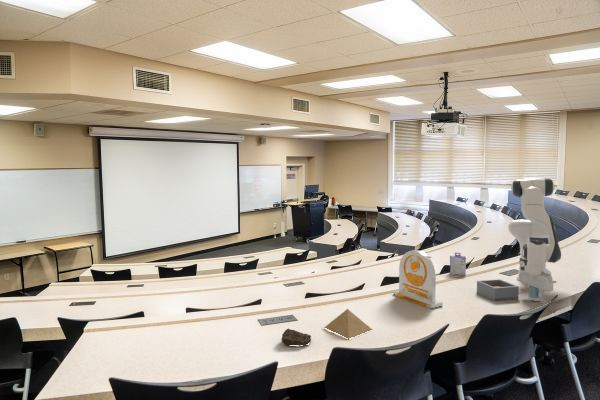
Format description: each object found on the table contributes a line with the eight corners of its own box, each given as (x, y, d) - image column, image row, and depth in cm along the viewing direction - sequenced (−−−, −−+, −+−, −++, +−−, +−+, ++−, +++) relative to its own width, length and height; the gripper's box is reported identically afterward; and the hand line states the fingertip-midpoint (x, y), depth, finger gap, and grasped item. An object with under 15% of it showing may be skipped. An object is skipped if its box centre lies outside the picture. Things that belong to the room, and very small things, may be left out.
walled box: (499, 291, 232) (499, 279, 232) (518, 298, 218) (518, 286, 217) (476, 292, 229) (477, 280, 229) (494, 300, 215) (494, 288, 214)
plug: (535, 298, 217) (535, 285, 217) (541, 300, 213) (541, 287, 213) (529, 298, 216) (529, 286, 216) (534, 301, 212) (535, 288, 212)
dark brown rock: (278, 346, 161) (278, 334, 160) (288, 336, 170) (288, 325, 170) (304, 351, 156) (304, 338, 156) (313, 341, 165) (313, 329, 165)
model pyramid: (345, 320, 189) (345, 300, 188) (374, 331, 176) (374, 309, 175) (320, 329, 178) (320, 307, 178) (348, 341, 165) (348, 318, 164)
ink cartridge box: (464, 273, 273) (464, 252, 272) (466, 275, 268) (466, 254, 267) (449, 272, 275) (449, 252, 274) (450, 274, 270) (451, 253, 269)
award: (392, 294, 227) (393, 247, 225) (404, 292, 231) (404, 245, 229) (430, 309, 202) (431, 256, 200) (442, 306, 207) (443, 254, 205)
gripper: (557, 274, 204) (556, 300, 205) (526, 265, 224) (526, 289, 225) (546, 275, 203) (545, 301, 204) (517, 265, 223) (516, 289, 224)
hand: (535, 294), depth 214 cm, fingers closed on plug, 4 cm apart
